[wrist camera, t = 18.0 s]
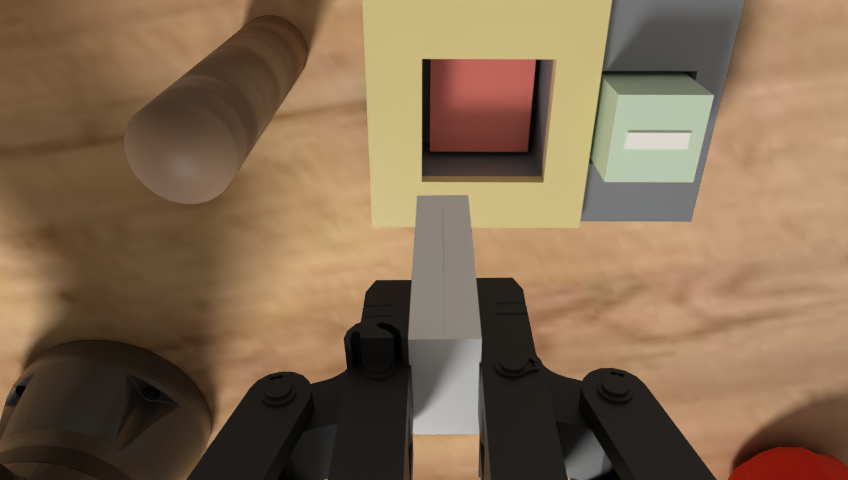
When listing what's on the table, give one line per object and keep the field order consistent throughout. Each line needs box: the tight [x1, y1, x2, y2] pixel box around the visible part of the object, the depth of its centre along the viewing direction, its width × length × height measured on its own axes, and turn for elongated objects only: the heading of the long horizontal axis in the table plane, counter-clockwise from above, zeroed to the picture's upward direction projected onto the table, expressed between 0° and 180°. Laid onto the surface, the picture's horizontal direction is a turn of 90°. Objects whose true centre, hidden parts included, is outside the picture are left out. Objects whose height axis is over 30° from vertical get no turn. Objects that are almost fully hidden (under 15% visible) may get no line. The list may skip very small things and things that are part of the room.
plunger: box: [430, 59, 536, 152], centre depth 36 cm, size 6×6×2 cm
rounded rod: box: [124, 16, 307, 204], centre depth 30 cm, size 4×4×16 cm
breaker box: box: [362, 0, 745, 228], centre depth 35 cm, size 18×12×7 cm, turn 90°
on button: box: [590, 72, 714, 182], centre depth 32 cm, size 4×4×4 cm
